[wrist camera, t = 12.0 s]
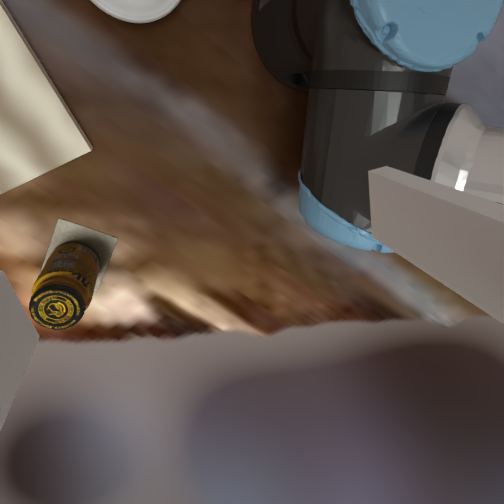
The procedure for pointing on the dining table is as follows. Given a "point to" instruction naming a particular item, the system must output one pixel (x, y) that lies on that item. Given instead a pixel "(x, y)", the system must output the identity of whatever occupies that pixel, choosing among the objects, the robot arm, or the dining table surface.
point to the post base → (31, 113)
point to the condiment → (70, 275)
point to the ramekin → (137, 9)
